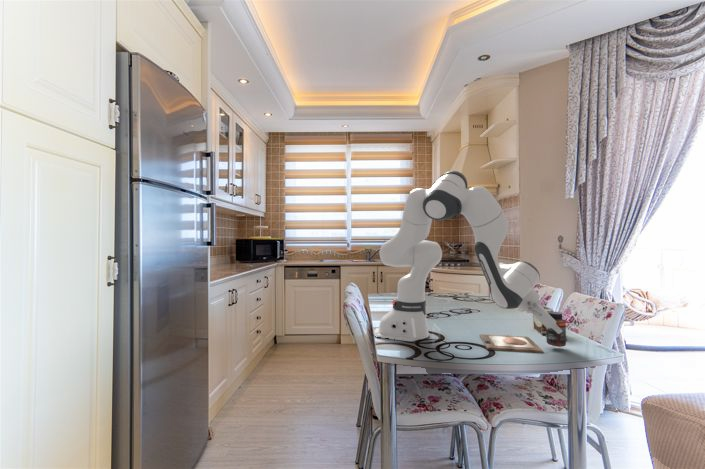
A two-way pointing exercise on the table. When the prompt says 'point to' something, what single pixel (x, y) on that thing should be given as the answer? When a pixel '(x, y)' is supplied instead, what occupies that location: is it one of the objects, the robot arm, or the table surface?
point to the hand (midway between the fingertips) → (557, 329)
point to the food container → (538, 325)
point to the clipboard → (510, 343)
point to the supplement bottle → (552, 335)
